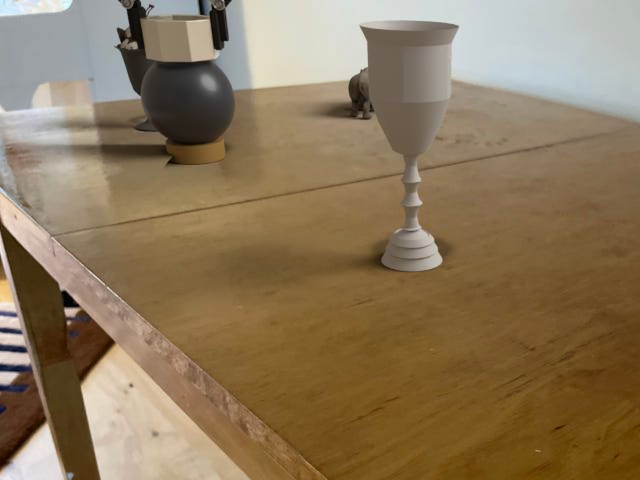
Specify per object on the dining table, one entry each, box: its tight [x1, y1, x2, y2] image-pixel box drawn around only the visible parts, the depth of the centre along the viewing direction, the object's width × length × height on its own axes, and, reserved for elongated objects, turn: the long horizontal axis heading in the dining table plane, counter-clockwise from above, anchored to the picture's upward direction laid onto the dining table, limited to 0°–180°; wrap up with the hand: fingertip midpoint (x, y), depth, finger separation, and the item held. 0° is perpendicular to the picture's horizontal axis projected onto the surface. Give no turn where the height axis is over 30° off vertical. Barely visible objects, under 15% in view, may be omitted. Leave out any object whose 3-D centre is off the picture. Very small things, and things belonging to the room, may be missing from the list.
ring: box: [140, 13, 221, 62], centre depth 85 cm, size 7×7×4 cm
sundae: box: [113, 3, 158, 132], centre depth 100 cm, size 7×7×15 cm
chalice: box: [358, 19, 460, 272], centre depth 60 cm, size 7×7×18 cm
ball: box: [140, 60, 236, 165], centre depth 88 cm, size 10×10×12 cm
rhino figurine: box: [347, 66, 374, 119], centre depth 117 cm, size 4×14×6 cm, turn 179°
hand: (182, 47), depth 85 cm, fingers closed on ring, 7 cm apart
